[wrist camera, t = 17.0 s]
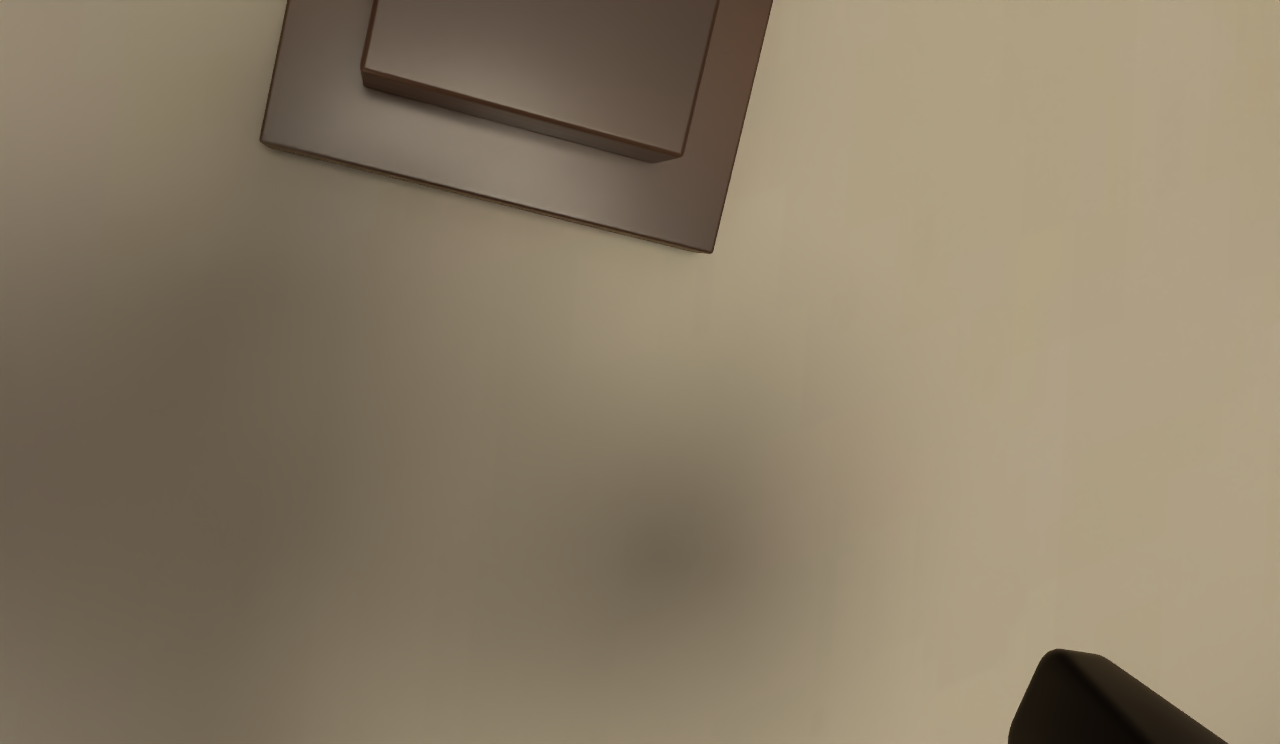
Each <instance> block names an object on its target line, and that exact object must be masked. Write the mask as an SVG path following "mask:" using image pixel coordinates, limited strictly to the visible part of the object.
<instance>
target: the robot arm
mask: <svg viewBox="0 0 1280 744" xmlns="http://www.w3.org/2000/svg"><path fill="white" fill-rule="evenodd" d="M1008 744H1228V743H1227V742H1225V741H1224V740H1222V739H1221V738H1220V737H1218V736H1217V735H1215V734H1214V733H1212V732H1211V731H1210V730H1208V729H1207V728H1205V727H1204V726H1202V725H1201V724H1200V723H1198V722H1197V721H1195V720H1194V719H1192V718H1191V717H1190V716H1188V715H1187V714H1185V713H1184V712H1183V711H1181V710H1180V709H1178V708H1177V707H1175V706H1174V705H1173V704H1171V703H1170V702H1168V701H1167V700H1165V699H1164V698H1163V697H1161V696H1160V695H1158V694H1157V693H1155V692H1154V691H1153V690H1151V689H1150V688H1148V687H1147V686H1145V685H1144V684H1143V683H1141V682H1140V681H1138V680H1137V679H1135V678H1134V677H1133V676H1131V675H1130V674H1128V673H1127V672H1125V671H1124V670H1123V669H1121V668H1120V667H1118V666H1117V665H1115V664H1114V663H1113V662H1111V661H1110V660H1108V659H1107V658H1105V657H1103V656H1100V655H1097V654H1092V653H1085V652H1078V651H1072V650H1065V649H1054V650H1052V651H1049V652H1048V653H1046V654H1045V655H1044V656H1043V657H1042V659H1041V661H1040V662H1039V664H1038V666H1037V668H1036V671H1035V673H1034V675H1033V677H1032V679H1031V681H1030V684H1029V686H1028V688H1027V690H1026V692H1025V695H1024V697H1023V699H1022V701H1021V703H1020V706H1019V708H1018V710H1017V712H1016V714H1015V717H1014V719H1013V721H1012V724H1011V727H1010V731H1009V736H1008Z"/></svg>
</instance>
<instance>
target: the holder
mask: <svg viewBox="0 0 1280 744" xmlns="http://www.w3.org/2000/svg"><path fill="white" fill-rule="evenodd" d="M772 3H773V0H287V5H286V10H285V15H284V20H283V25H282V30H281V35H280V40H279V45H278V50H277V55H276V60H275V64H274V69H273V74H272V79H271V84H270V89H269V94H268V99H267V104H266V109H265V114H264V119H263V124H262V129H261V134H260V142H261V143H263V144H264V145H266V146H268V147H271V148H275V149H279V150H283V151H287V152H291V153H295V154H299V155H303V156H307V157H311V158H315V159H319V160H323V161H327V162H331V163H335V164H339V165H343V166H348V167H352V168H356V169H360V170H364V171H368V172H372V173H376V174H380V175H384V176H388V177H392V178H396V179H400V180H404V181H408V182H412V183H416V184H420V185H424V186H429V187H433V188H437V189H441V190H445V191H449V192H453V193H457V194H461V195H465V196H469V197H473V198H477V199H481V200H485V201H489V202H493V203H497V204H501V205H505V206H510V207H514V208H518V209H522V210H526V211H530V212H534V213H538V214H542V215H546V216H550V217H554V218H558V219H562V220H566V221H570V222H574V223H578V224H582V225H586V226H591V227H595V228H599V229H603V230H607V231H611V232H615V233H619V234H623V235H627V236H631V237H635V238H639V239H643V240H647V241H651V242H655V243H659V244H663V245H667V246H672V247H676V248H680V249H684V250H688V251H692V252H696V253H706V254H711V253H712V252H713V250H714V245H715V241H716V237H717V233H718V229H719V225H720V220H721V216H722V212H723V208H724V204H725V199H726V195H727V191H728V187H729V183H730V179H731V174H732V170H733V166H734V162H735V158H736V153H737V149H738V145H739V141H740V137H741V133H742V128H743V124H744V120H745V116H746V112H747V107H748V103H749V99H750V95H751V91H752V87H753V82H754V78H755V74H756V70H757V66H758V61H759V57H760V53H761V49H762V45H763V41H764V36H765V32H766V28H767V24H768V20H769V15H770V11H771V7H772Z"/></svg>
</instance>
